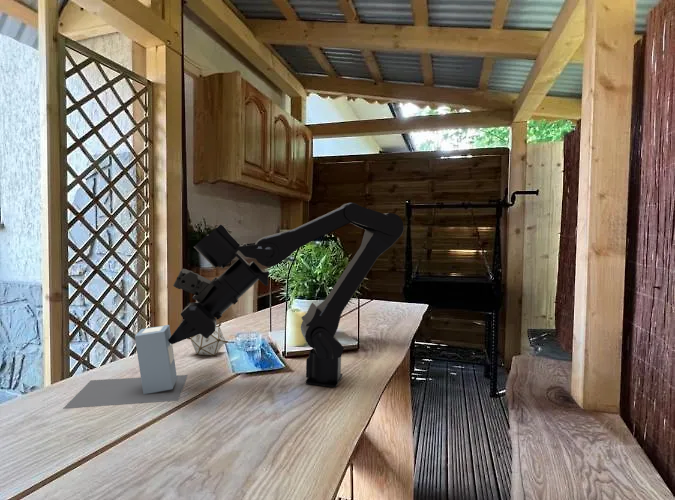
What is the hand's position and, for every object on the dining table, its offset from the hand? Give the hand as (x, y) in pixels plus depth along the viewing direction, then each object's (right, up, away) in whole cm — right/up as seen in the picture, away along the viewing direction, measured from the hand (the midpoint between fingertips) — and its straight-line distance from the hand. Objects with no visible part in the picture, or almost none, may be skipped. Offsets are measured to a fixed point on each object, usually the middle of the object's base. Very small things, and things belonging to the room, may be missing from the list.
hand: (170, 342), depth 73 cm
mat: (-7, -9, -1) cm, 11 cm away
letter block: (-2, -8, 0) cm, 9 cm away
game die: (0, -9, +20) cm, 22 cm away
